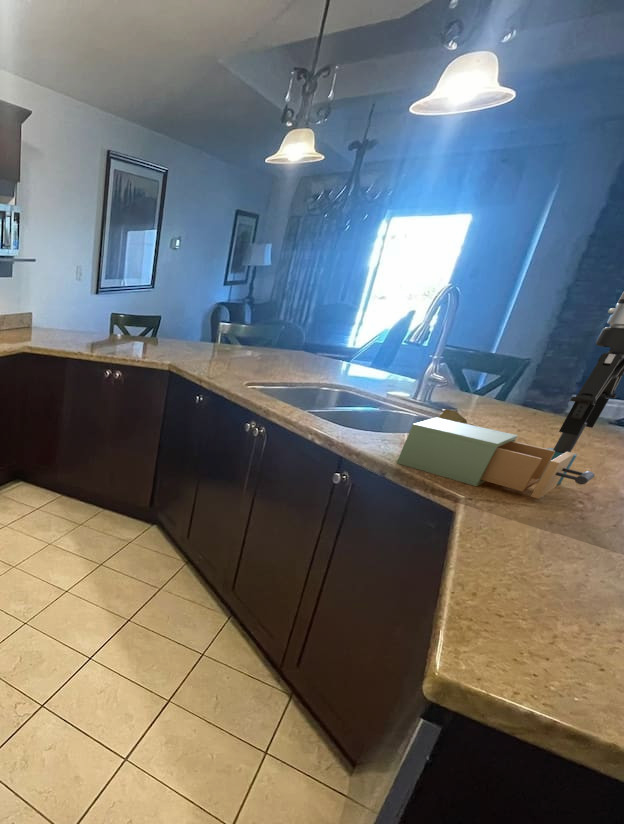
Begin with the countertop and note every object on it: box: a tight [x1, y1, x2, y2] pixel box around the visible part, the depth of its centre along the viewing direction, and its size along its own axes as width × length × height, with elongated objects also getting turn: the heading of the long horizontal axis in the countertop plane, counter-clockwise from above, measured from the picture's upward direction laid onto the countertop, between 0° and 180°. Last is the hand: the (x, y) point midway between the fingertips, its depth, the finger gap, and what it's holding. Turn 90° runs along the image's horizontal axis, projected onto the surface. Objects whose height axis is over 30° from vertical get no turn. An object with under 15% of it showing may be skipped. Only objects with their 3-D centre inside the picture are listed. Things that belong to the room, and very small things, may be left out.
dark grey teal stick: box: [538, 422, 587, 486], centre depth 108 cm, size 5×5×14 cm
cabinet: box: [396, 416, 519, 487], centre depth 113 cm, size 15×14×10 cm
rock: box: [438, 408, 468, 424], centre depth 128 cm, size 11×9×10 cm
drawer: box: [481, 441, 595, 499], centre depth 104 cm, size 18×13×8 cm
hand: (576, 429), depth 106 cm, fingers open, 13 cm apart
